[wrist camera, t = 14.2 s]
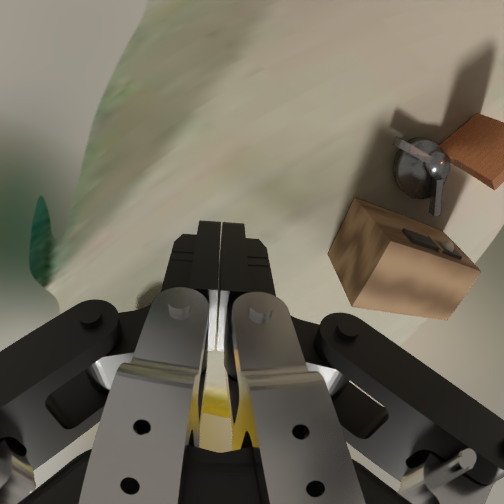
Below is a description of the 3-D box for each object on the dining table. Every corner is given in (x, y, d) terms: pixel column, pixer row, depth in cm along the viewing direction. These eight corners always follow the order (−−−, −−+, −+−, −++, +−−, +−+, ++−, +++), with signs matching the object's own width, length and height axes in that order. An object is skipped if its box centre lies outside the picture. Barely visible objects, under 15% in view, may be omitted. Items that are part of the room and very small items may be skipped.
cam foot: (415, 216, 43) (460, 263, 32) (374, 145, 37) (426, 179, 26) (490, 151, 37) (543, 182, 26) (461, 78, 31) (524, 93, 20)
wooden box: (358, 187, 41) (396, 228, 31) (447, 224, 45) (486, 263, 35) (327, 254, 47) (351, 306, 37) (416, 276, 51) (446, 320, 41)
